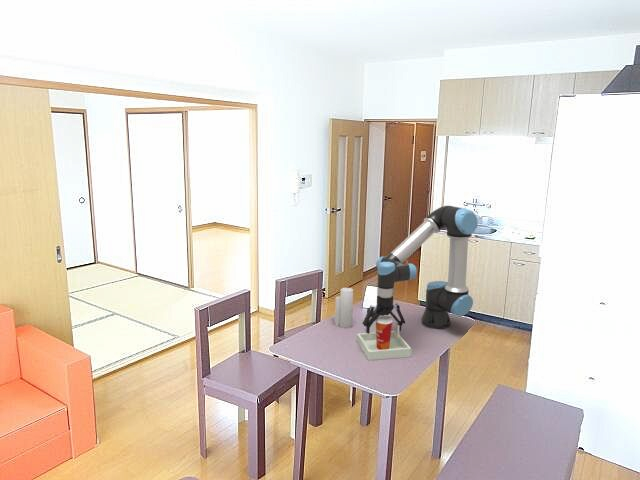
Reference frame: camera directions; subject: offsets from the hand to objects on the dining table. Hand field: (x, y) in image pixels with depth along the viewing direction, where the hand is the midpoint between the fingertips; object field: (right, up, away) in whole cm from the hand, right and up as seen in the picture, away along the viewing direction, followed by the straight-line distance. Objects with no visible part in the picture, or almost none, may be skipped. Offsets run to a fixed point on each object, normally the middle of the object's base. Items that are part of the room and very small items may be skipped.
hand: (383, 338), depth 222 cm
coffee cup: (0, -5, +1) cm, 5 cm away
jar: (-2, -1, +21) cm, 21 cm away
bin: (0, -5, +1) cm, 5 cm away
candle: (-18, +1, +30) cm, 35 cm away
